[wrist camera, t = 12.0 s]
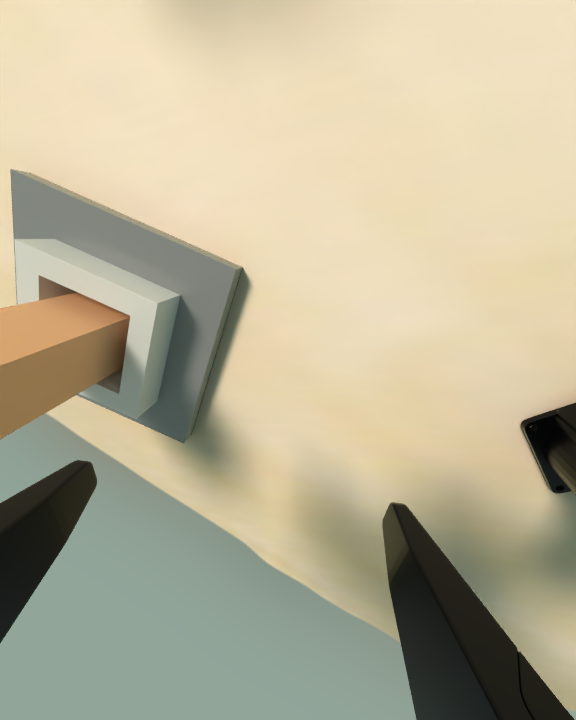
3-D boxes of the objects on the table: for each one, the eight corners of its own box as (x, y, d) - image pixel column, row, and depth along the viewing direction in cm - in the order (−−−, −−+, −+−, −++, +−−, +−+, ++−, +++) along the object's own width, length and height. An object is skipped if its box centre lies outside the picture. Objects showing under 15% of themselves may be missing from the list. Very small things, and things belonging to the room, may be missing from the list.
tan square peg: (139, 313, 20) (-169, 428, 8) (132, 361, 21) (-129, 515, 10) (86, 290, 20) (-300, 370, 8) (83, 340, 21) (-237, 467, 10)
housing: (242, 267, 18) (219, 274, 15) (191, 434, 25) (167, 465, 21) (30, 172, 18) (-40, 158, 15) (34, 363, 25) (-15, 383, 21)
